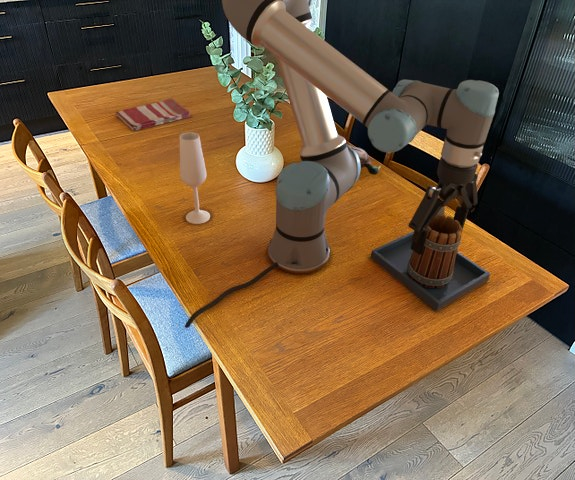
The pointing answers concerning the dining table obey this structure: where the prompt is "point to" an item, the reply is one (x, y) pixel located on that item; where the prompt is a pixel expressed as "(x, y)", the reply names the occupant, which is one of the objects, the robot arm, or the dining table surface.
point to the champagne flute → (193, 172)
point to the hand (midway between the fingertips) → (436, 241)
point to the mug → (436, 253)
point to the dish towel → (153, 114)
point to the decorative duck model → (365, 160)
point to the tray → (461, 283)
